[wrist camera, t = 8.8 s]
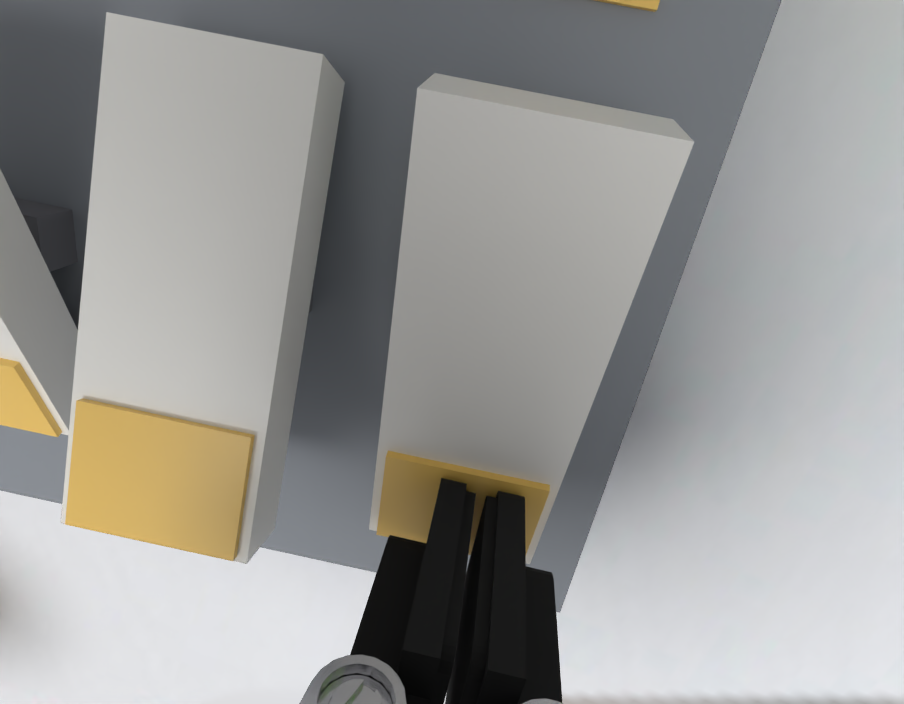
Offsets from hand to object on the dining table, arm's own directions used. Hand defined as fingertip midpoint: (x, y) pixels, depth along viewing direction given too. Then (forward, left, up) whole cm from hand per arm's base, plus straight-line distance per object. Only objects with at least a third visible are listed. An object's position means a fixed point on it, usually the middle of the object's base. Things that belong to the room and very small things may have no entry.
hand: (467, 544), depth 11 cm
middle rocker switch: (-4, -6, -1) cm, 7 cm away
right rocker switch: (-4, 0, -1) cm, 4 cm away
